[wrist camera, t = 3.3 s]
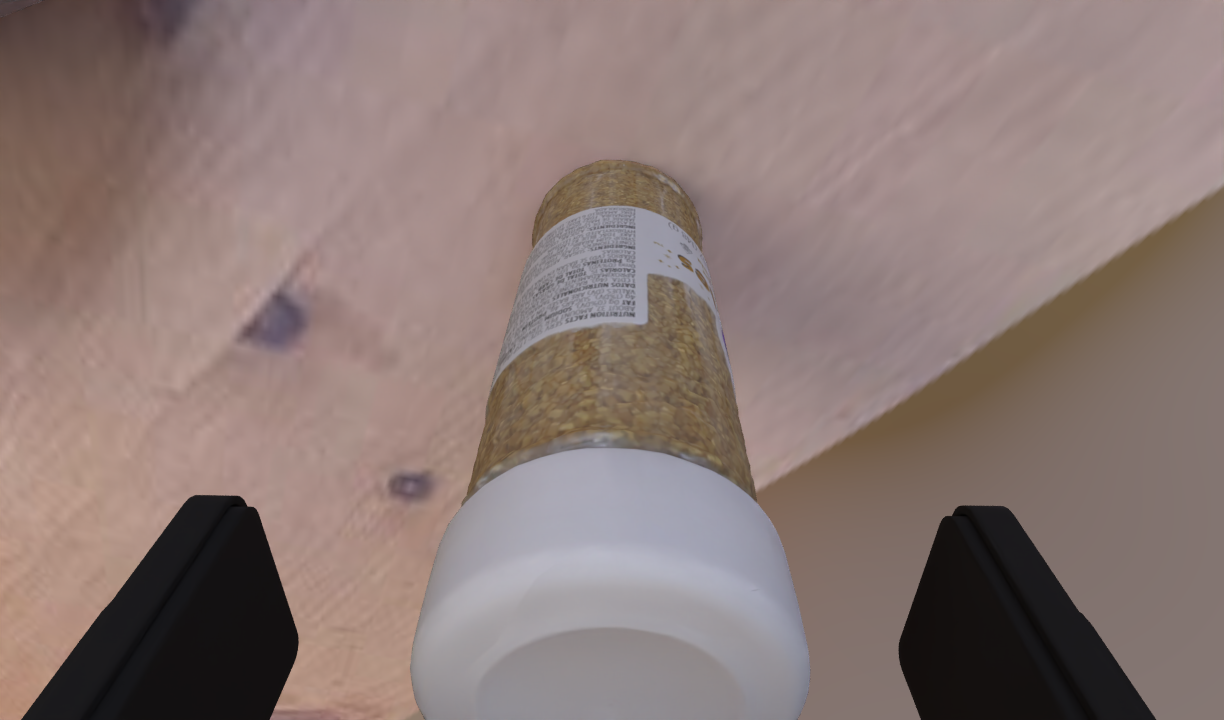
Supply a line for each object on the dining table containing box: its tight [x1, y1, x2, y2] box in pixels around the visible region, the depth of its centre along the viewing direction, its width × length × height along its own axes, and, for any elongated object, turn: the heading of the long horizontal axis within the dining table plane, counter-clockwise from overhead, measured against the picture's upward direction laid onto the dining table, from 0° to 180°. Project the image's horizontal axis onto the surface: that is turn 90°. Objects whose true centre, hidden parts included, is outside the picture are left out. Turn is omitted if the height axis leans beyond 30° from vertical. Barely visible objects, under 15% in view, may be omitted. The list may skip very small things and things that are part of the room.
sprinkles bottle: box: [410, 160, 810, 720], centre depth 14 cm, size 5×5×13 cm
